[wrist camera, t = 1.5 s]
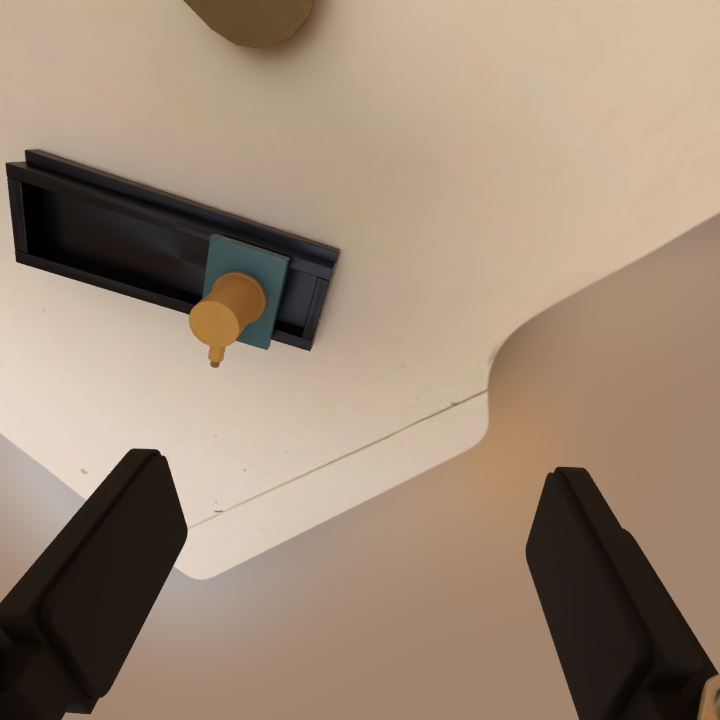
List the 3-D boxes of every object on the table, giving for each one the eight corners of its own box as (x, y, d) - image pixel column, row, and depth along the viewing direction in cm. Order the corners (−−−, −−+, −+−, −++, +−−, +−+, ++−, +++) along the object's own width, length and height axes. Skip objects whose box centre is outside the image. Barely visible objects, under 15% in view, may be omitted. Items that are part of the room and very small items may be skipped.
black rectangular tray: (45, 261, 35) (16, 271, 32) (36, 149, 30) (3, 150, 28) (313, 343, 37) (307, 359, 34) (340, 249, 33) (336, 259, 30)
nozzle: (213, 316, 34) (165, 364, 27) (226, 226, 31) (174, 253, 23) (276, 335, 35) (246, 388, 28) (296, 249, 31) (268, 283, 24)
